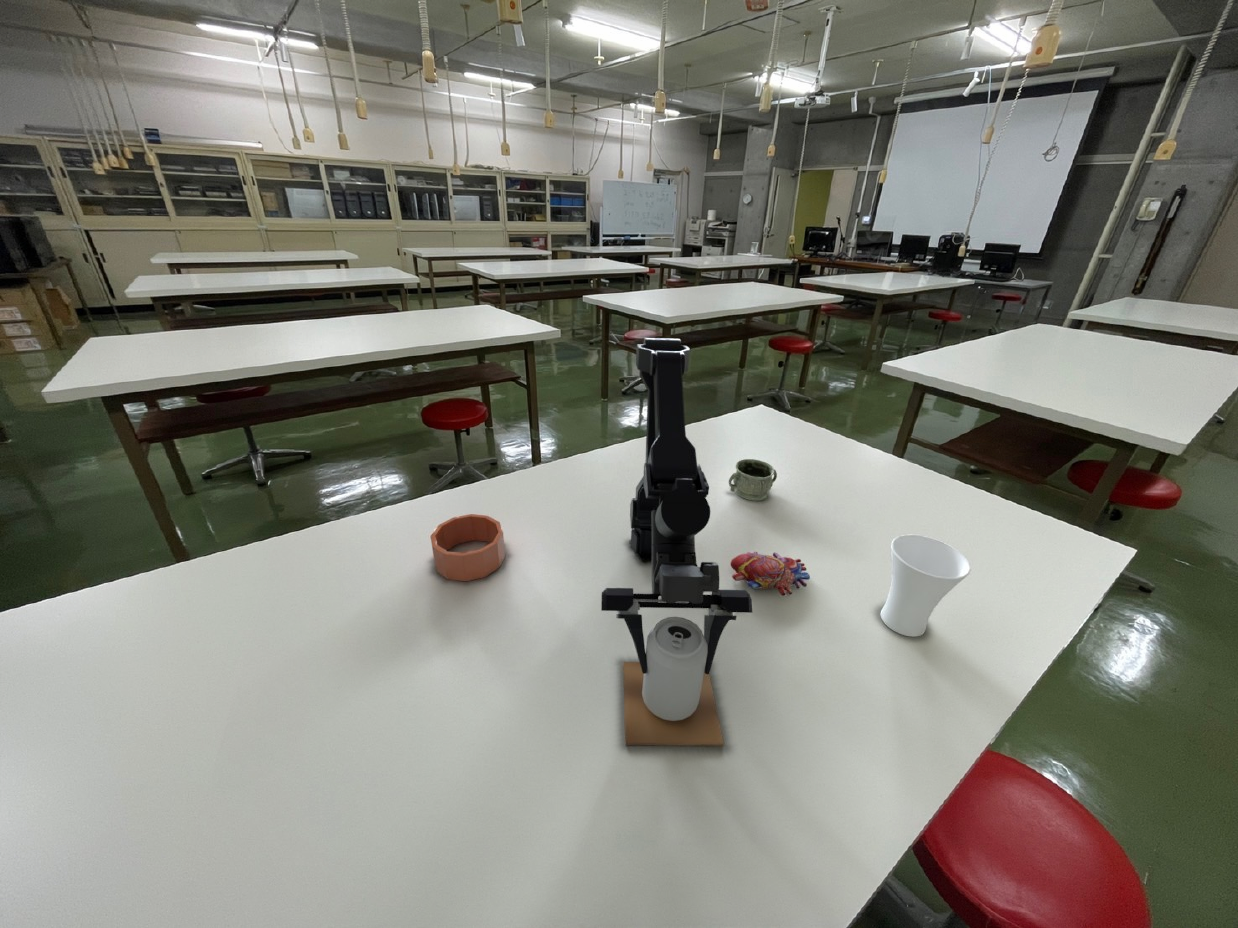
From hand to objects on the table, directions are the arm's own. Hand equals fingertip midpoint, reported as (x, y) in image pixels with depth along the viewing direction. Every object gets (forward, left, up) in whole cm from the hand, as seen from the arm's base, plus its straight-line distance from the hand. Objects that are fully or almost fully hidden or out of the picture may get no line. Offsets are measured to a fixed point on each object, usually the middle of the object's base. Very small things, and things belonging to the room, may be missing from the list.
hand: (675, 673), depth 62 cm
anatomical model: (-28, -16, -7) cm, 34 cm away
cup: (-42, 0, -7) cm, 43 cm away
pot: (+20, -40, -7) cm, 45 cm away
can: (-1, -1, -7) cm, 7 cm away
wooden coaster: (0, -1, -7) cm, 7 cm away
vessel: (-43, -42, -7) cm, 61 cm away
